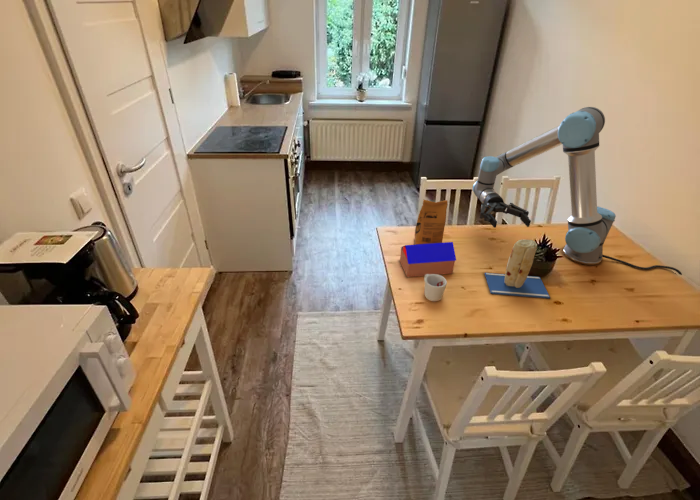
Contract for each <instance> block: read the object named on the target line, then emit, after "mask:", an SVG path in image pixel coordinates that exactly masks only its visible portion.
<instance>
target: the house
mask: <svg viewBox="0 0 700 500" xmlns="http://www.w3.org/2000/svg"><path fill="white" fill-rule="evenodd" d="M456 261H457V256H456V251H455V246H454V242H453V241H446V242H442V243H430V244H405V245H403V246H401V247H400V255H399V262H400V264H401V267H402V269H403V271H404V274H405V275H406V277H407V278H408V277H409V278H410V277H411V278H413V277H424V276H425V275H426V274H429V275H430V274H438V275H446V274H447V275H448V274H453V273H454V268H455V264H456V263H455V262H456Z"/></svg>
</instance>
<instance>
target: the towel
mask: <svg viewBox="0 0 700 500" xmlns="http://www.w3.org/2000/svg"><path fill="white" fill-rule="evenodd" d="M484 277H485V279H486V283H487V286H488V289H489V292H490V294H491V295H499V296H500V295H501V296H514V297H526V298H536V299H537V298H538V299H549V300H550V299H551V296H550V295H549V292H548V290H547V288H546V286H545V285H544V282H543V280H542V279H541V276H534V275H528V276H527V278H526V280H525V282H524V284H523V285H522V286H521V287H520V288H516V287H515V286H508V285H506V284H505V273H495V272H484Z"/></svg>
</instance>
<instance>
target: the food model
mask: <svg viewBox="0 0 700 500" xmlns="http://www.w3.org/2000/svg"><path fill="white" fill-rule="evenodd" d="M537 249H538V243H537V242H536V241H535V240H533V239H528V238H527V239H518V240H517V241H515V243H514V244H513V246H512V249H511V251H510V254H509V257H508V260H507V263H506V267H505V273H504V274H505V284H506V285H508V286H515V287H516V288H520V287H521V286H522V285H523V284H524V282H525V280H526V278H527V276H529V274H530V271H531V269H532V266H533V264H534V259H535V254H536V252H537Z"/></svg>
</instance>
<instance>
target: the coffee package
mask: <svg viewBox="0 0 700 500" xmlns="http://www.w3.org/2000/svg"><path fill="white" fill-rule="evenodd" d="M448 203H449V202H448V200H447V199H445V200H441V201H431V200H428V199H423V200H422V205H421V207H420V211H419V214H418V217H417V219H416V223H415V229H414V240H415V244H414V245H416V244H430V243H443V240H444V234H445V228H446V223H447V209H448V206H449V205H448Z"/></svg>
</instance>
